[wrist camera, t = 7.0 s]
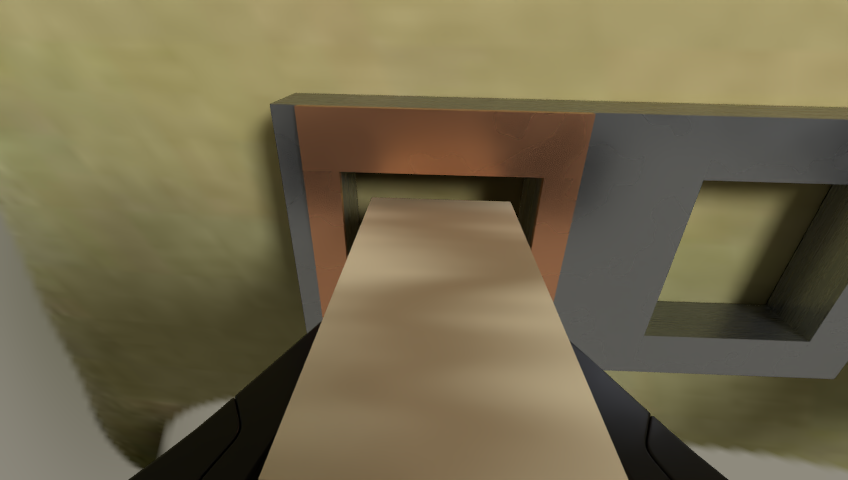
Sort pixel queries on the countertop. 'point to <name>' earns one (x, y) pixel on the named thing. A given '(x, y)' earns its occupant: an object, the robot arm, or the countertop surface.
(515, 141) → the grey board
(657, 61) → the countertop surface
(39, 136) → the countertop surface
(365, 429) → the beech peg
